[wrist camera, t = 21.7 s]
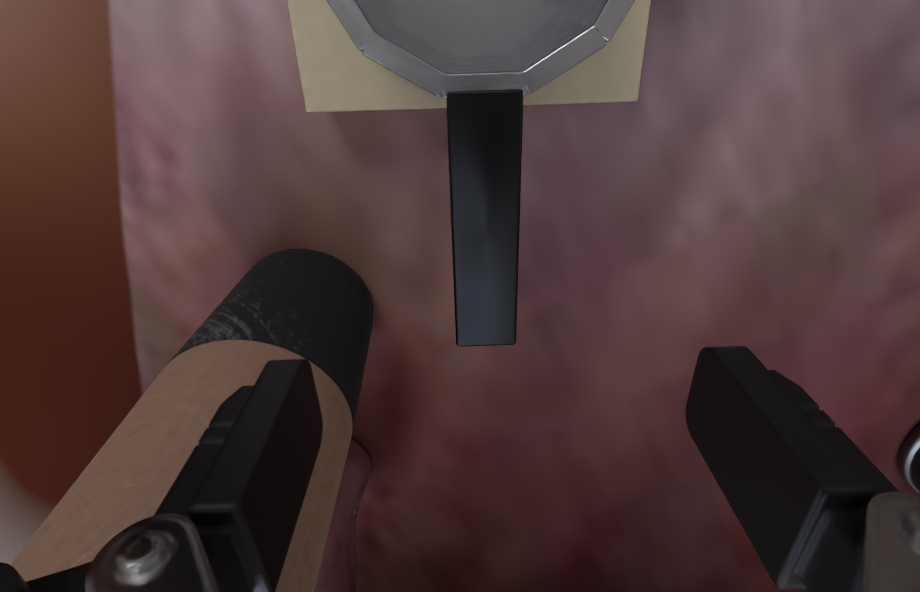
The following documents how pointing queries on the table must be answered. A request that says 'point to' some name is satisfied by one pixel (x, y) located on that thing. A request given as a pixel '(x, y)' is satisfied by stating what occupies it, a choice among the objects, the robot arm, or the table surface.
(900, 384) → the table surface
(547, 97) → the plate
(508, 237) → the saucepan
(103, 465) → the travel mug
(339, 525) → the beer glass
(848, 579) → the robot arm
